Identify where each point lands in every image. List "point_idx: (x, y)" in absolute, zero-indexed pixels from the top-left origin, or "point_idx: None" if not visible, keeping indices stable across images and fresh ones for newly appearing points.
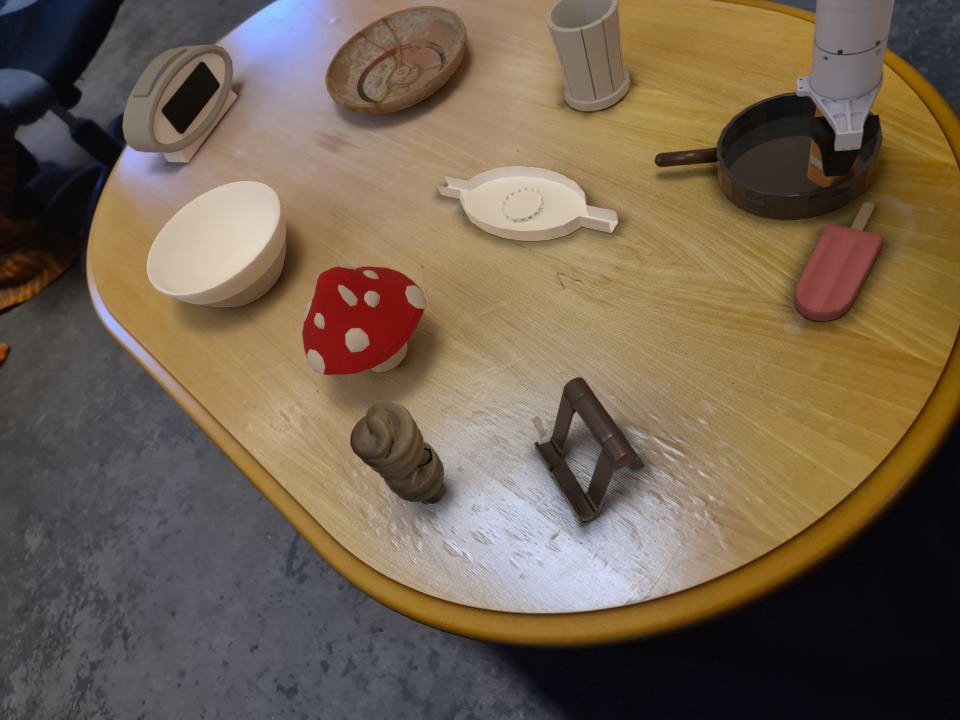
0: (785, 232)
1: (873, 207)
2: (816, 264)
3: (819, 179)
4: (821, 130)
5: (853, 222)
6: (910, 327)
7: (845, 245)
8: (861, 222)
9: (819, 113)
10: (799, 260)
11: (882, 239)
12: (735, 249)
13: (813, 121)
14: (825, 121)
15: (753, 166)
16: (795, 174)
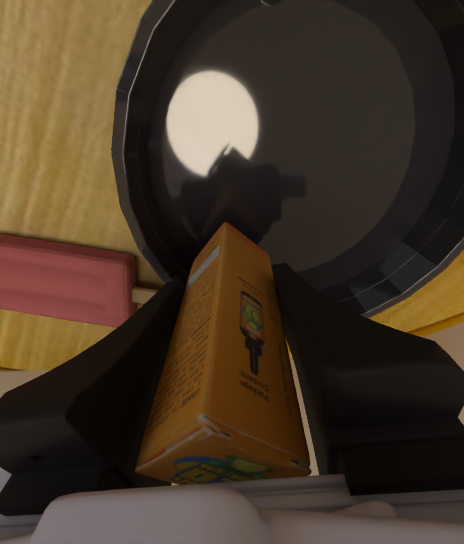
0: (117, 193)
1: None
2: (32, 263)
3: (203, 251)
4: (5, 449)
5: (150, 292)
6: (31, 345)
7: (88, 294)
8: None
9: (195, 377)
10: (66, 225)
11: None
12: (33, 97)
13: (41, 430)
14: (64, 454)
15: (286, 81)
16: (258, 188)
